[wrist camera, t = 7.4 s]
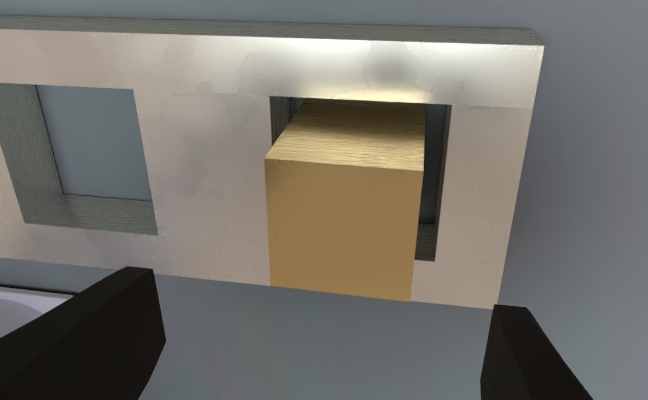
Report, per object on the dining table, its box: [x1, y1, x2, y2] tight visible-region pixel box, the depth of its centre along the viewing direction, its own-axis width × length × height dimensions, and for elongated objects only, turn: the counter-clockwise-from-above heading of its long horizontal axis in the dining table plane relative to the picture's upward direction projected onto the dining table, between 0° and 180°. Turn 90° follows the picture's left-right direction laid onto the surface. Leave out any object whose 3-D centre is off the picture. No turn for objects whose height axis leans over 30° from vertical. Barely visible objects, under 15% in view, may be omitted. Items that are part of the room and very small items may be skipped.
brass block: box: [264, 98, 426, 302], centre depth 17 cm, size 4×4×6 cm
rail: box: [0, 15, 544, 309], centre depth 19 cm, size 9×20×2 cm, turn 90°
